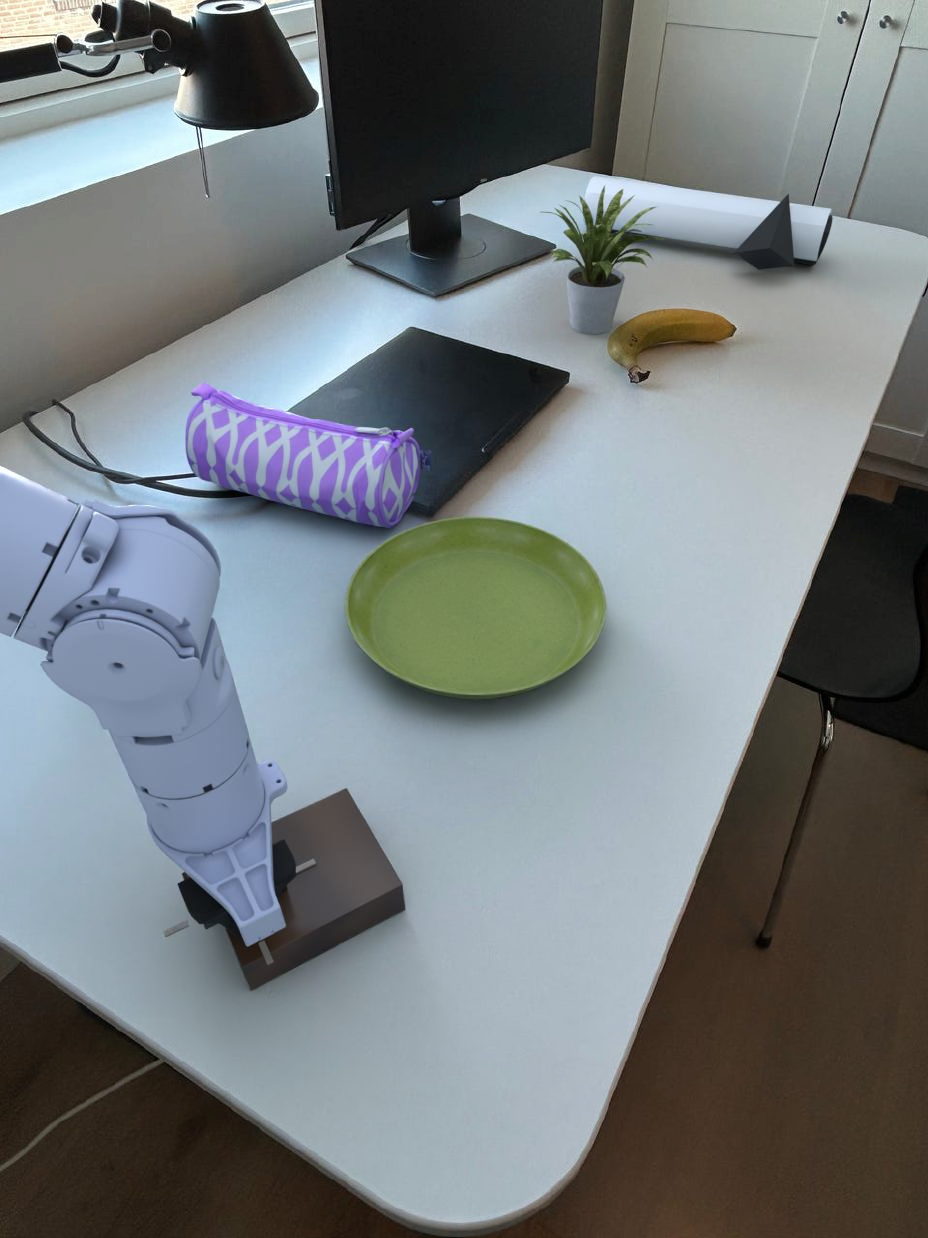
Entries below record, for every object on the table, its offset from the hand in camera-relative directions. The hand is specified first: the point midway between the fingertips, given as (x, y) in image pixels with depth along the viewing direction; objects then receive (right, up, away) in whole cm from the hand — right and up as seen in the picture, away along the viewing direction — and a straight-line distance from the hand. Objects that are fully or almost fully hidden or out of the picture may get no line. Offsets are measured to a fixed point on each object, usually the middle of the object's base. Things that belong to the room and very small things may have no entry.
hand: (241, 894), depth 51 cm
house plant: (+28, +52, +59) cm, 84 cm away
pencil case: (-2, +28, +34) cm, 44 cm away
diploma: (+46, +68, +76) cm, 112 cm away
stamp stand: (+2, -2, +3) cm, 4 cm away
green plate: (+14, +15, +21) cm, 30 cm away
